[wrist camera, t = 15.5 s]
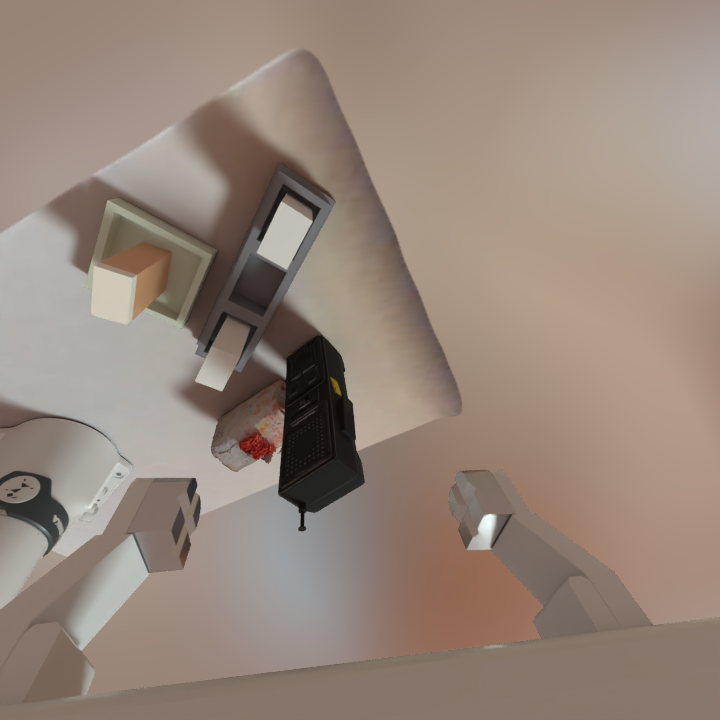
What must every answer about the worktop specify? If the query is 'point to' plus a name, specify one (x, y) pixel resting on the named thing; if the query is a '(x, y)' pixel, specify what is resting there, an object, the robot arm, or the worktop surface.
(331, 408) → the portable radio
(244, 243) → the fuse block
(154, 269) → the block
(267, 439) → the food item
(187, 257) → the tray
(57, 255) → the worktop surface
